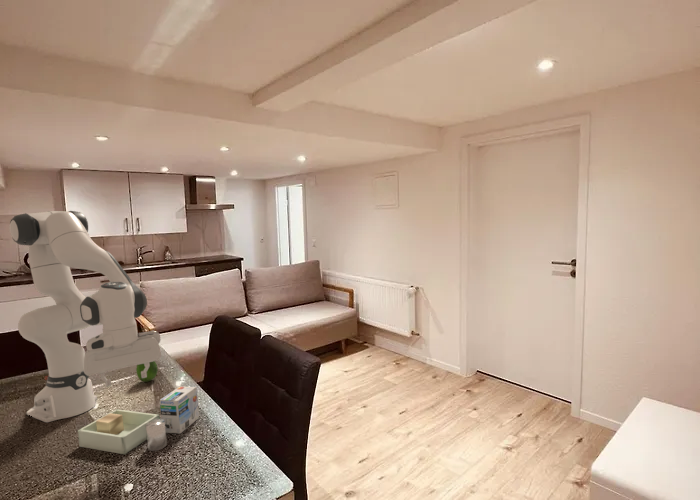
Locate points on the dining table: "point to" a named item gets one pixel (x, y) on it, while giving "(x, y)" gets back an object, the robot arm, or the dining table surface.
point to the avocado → (150, 372)
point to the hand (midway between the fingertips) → (126, 381)
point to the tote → (123, 440)
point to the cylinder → (156, 434)
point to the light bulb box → (179, 409)
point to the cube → (110, 424)
